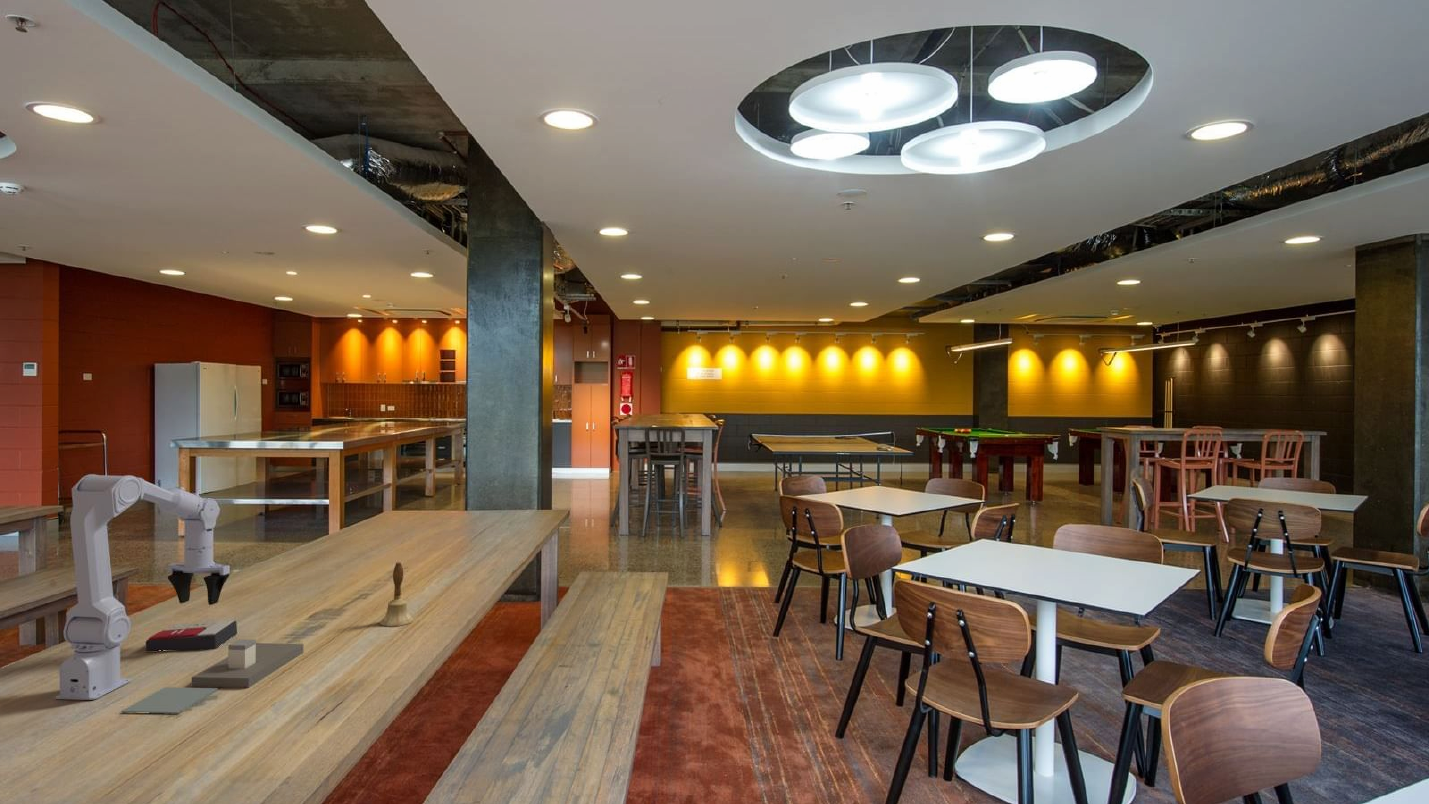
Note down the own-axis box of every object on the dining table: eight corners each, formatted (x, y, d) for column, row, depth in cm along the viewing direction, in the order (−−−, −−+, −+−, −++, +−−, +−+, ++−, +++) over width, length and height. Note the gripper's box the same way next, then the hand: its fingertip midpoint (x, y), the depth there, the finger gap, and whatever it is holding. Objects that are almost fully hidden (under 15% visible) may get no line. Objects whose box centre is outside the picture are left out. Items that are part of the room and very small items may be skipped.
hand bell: (404, 615, 201) (404, 557, 200) (419, 621, 195) (419, 562, 195) (374, 622, 194) (374, 563, 194) (389, 629, 189) (389, 568, 189)
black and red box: (171, 622, 181) (236, 617, 184) (172, 639, 181) (237, 634, 184) (144, 638, 170) (214, 632, 173) (145, 656, 171) (215, 649, 173)
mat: (178, 714, 139) (178, 712, 139) (121, 713, 139) (121, 711, 139) (217, 690, 150) (217, 688, 150) (164, 689, 150) (164, 687, 150)
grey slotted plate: (248, 687, 152) (248, 678, 152) (191, 686, 152) (191, 677, 152) (303, 652, 172) (303, 644, 172) (252, 651, 172) (252, 643, 172)
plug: (244, 677, 157) (245, 645, 157) (228, 677, 157) (228, 645, 157) (255, 671, 161) (255, 639, 161) (239, 670, 161) (239, 639, 161)
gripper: (239, 544, 179) (239, 599, 179) (185, 542, 180) (184, 596, 181) (216, 551, 172) (216, 608, 172) (160, 548, 173) (160, 605, 174)
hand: (198, 602), depth 176 cm, fingers open, 7 cm apart
